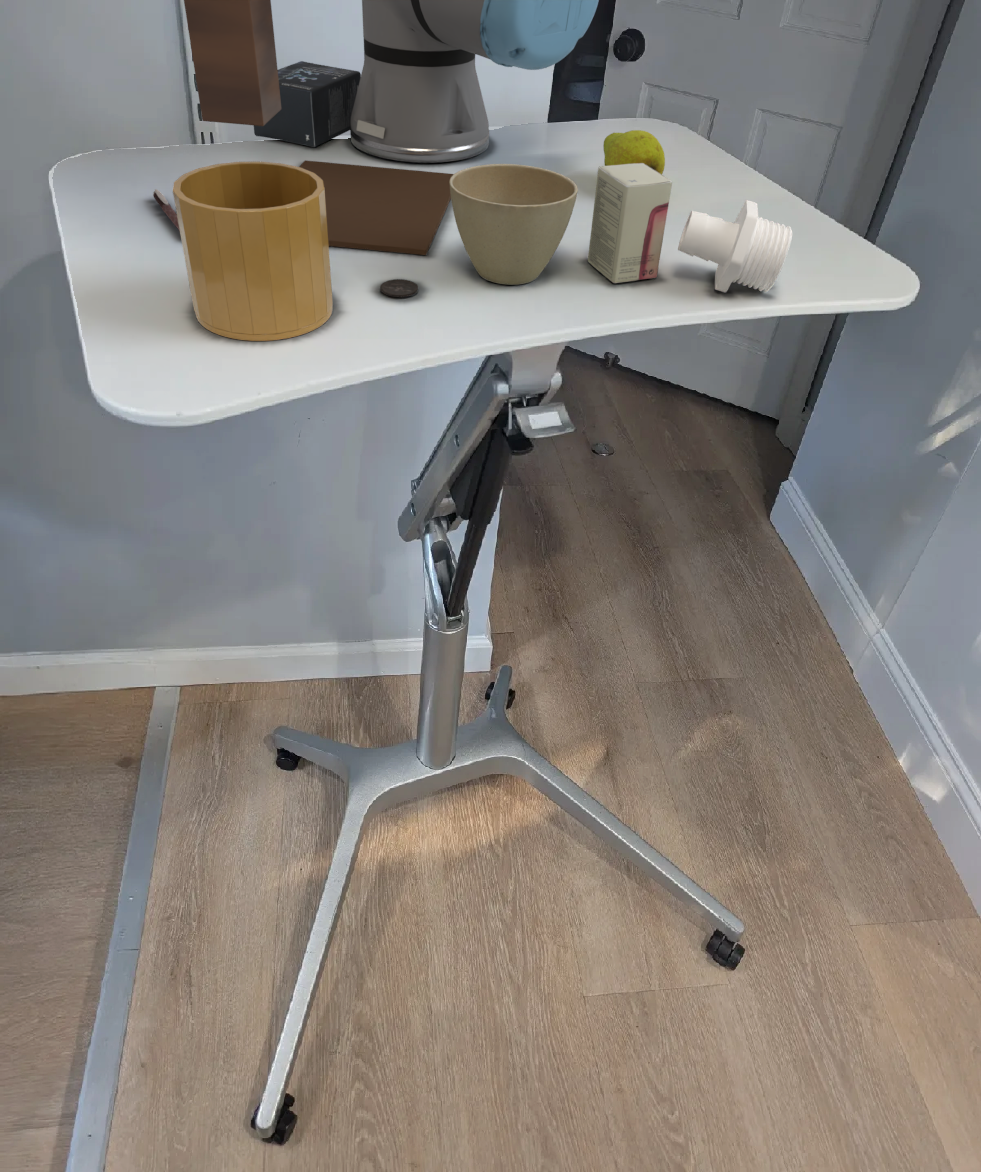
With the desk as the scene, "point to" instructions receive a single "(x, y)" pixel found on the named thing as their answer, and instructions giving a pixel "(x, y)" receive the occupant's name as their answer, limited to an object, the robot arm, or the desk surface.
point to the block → (234, 60)
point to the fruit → (634, 150)
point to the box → (312, 104)
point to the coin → (399, 288)
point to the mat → (382, 206)
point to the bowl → (511, 218)
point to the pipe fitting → (738, 247)
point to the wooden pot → (255, 249)
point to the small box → (628, 221)
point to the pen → (166, 207)
